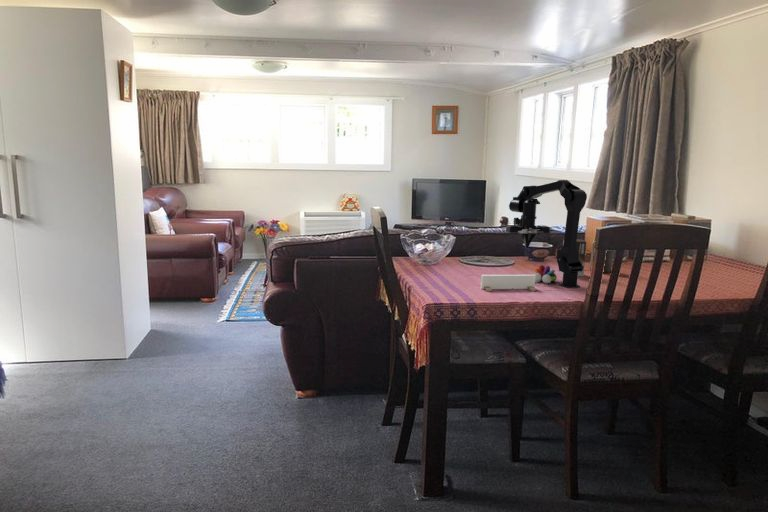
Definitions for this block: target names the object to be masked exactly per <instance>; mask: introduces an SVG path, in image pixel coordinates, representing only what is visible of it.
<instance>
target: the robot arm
mask: <svg viewBox="0 0 768 512" xmlns="http://www.w3.org/2000/svg"><path fill="white" fill-rule="evenodd" d="M554 192H558V193H559V194H560V196H561V197H563V199H564V206H565V209H566V210H567V212H566V221H565V229H564V237H563V239H564V244H563V243H562V246H561V247H560V248H557V250H556V257H555V259H556V263H557V265H558V271H559V272H560V273H561V272H563V275H562V282H559V283H558V284H559V285H560V286H563V287H564V288H581V285H579V284H578V277H579V276H578V272H580V271H582V270H583V268H584V269H585V266H584V267H583V265H582V264H581V262H580V261H579V253H578V250H577V248H576V241H577V239H578V233H579V224H580V217H581V212H582V211H583V209H584V208H585V206H586V202H587V199H588V195H587V194H588V193H586V191H585V190H583V189H581V188H580V187H578V186H577V185H575V184H573V183H572V182H571V181H570V180H568V179H558V180H556V181H552V182H548V183H544V184H539V185H524V186H523V187H522V189H521V190H520V193H518V195H517V196H513V197H512V200H510V202H509V204H508V209H509V210H510V211H511V212H515V213H522V214H521V216H520V218H519V217H513V224H507V225H506V227H505V232H507V233H509V234H510V233H511V234H516V233H518V235H519V234H520V236H521V238H522V241H523V244H524V247H525V249H529V247H530V244H531V243H532V241H533V239H534V238H535V237H536V236H537V235H538V233H537V232H542V233H543V234H550V233H551V228H550V226H548V225H540V224H539V225H537V226H536V220H537V216H536V215H537V213H536V212H537V205H540V204H541V201H539V200H538V198H541V197H542V196H543V195H544V194H548V193H554Z"/></svg>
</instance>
